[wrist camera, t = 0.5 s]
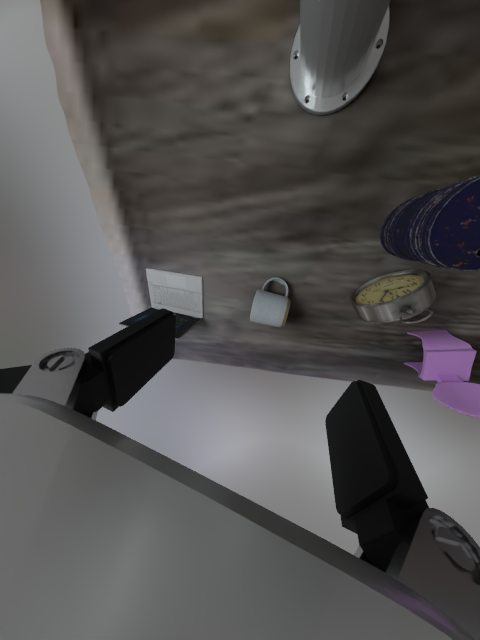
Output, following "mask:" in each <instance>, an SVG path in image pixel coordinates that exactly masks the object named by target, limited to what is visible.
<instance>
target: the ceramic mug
mask: <svg viewBox="0 0 480 640" xmlns="http://www.w3.org/2000/svg"><path fill="white" fill-rule="evenodd" d="M270 281H277V282H279V283H281V284H284V285H285V287H286V295H285V296H282V295H278V294H274V293H271V292H267V291H264V288H265V286H266V285H267V284H268V283H269V282H270ZM287 295H288V286H287V283H286V282H285V281H284V280H282V279H280V278H271V279H269V280H268V281H267V282H266V283H265V284H264V286H263V288H262V290H260V289H258V290H257V292H256V294H255V297H254V301H253V305H252V309H251V315H250V321H252V322H257V323H262V324H267V325H271V326H276V327H283V326H284V325H285V323H286V320H287V316H288V312H289V308H290V303H291V301H290V299H289V298H288V297H287Z"/></svg>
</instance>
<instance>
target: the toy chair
mask: <svg viewBox="0 0 480 640" xmlns="http://www.w3.org/2000/svg"><path fill="white" fill-rule="evenodd" d="M407 334H411V335H415V336H418V337H419V338H421V339H422V346H423V350H424V356H423V362H404V364H406V365H408V366H410V367H412V368H414V369H416V370H417V371H418V375H419V377H421V378H422V380H437V382H438V383H437V384H436V386H435V388H434V389H433V391H432V396H433V397H434V398H435V399H436V400H437V401H438V402H440V403H441V404H443V405H445V406H447V407H449V408H451V409H453V410H455V411H457V412H460V413H463V414H465V415H468V416H472V417H480V384H474V383H468V382H463V381H469V378H470V374H471V368H472V365H473V361H474V359H475V355H476V352H477V351H475V350H474V349H472V347H471V345H470V344H468V343H466V342H464V341H462V340H460V339H458V338H456V337H454V336H452V335H451V334H449V333H448V332H447V330H435V331H418V332H407Z"/></svg>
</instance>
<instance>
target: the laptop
mask: <svg viewBox="0 0 480 640" xmlns="http://www.w3.org/2000/svg"><path fill="white" fill-rule="evenodd" d="M146 273H147V280H148V286H149V292H150V299H151V305H152V307H153V308H149V309H147V310H145V311H143V312H141V313H139V314H137V315H135V316H133V317H131V318H129V319H127V320H125V321H123V322H121V323H119V325H122V326H126V327H128V326H130V325H132V324H134V323H136V322H137V321H139V320H141V319H143V318H145V317H147V316H149V315H150V314H152V313H154V312H156V311H158V310H160V309H162V308H164V309H167V310H170V311H172V312H173V313H174V315H175V316H176V328H175V339H177V340H178V339H180V338H181V337H182V336H183V335H184V334H186V333H187V332H188V331H189V330H190V329H192V328H193V327H194V326H195V325H196V324H197V323H199V322H200V321H201V320H202V318H203V304H202V303H203V301H202V300H203V281H202V277H199V276H193V275H187V274H180V273H174V272H167V271H161V270H155V269H148V268H146Z"/></svg>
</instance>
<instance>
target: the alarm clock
mask: <svg viewBox="0 0 480 640" xmlns="http://www.w3.org/2000/svg"><path fill="white" fill-rule="evenodd" d="M435 299H436V292H435V289H434V286H433V283H432V280H431V277H430V274H429V273H428V272H426V271H423V270H418V269H408V270H401V271H396V272H392V273H388V274H385V275H382V276H379V277H377V278H374V279H372V280H370V281H368V282H366V283H364V284H363V285H361V286H360V287H359V288H357V289H356V290H355V291H354V292H353V293H351V297H350V301H351V303H352V304H353V307H354V309H355V311H356V313H357V315H358V316H359V318H361V319H362V320H364V321H366V322H370V323H376V324H387V323H395V322H400V321H401V322H402V323H406V324H414V323H418V322H422V321H424V320H426V319H428V318H430V317H431V316H432V314H433V312H432V310H430V309H428V308H429V307H430V306H431V305H432V304H433V303H434V301H435ZM424 311H429V315H428V316H426V317H425V318H423V319H420V320H417V321H410V322H409V321H404V320H407V319H410V318H412V317H415V316H417V315H419V314H421V313H422V312H424Z"/></svg>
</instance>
